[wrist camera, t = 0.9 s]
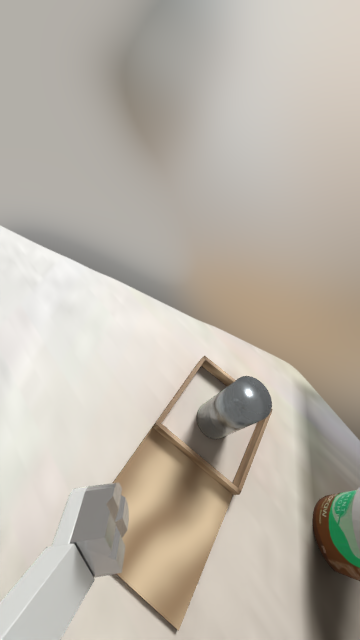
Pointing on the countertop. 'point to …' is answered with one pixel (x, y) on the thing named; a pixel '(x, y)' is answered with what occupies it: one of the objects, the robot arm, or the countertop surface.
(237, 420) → the slate tin
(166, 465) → the wooden tray board
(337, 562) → the food container
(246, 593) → the countertop surface
